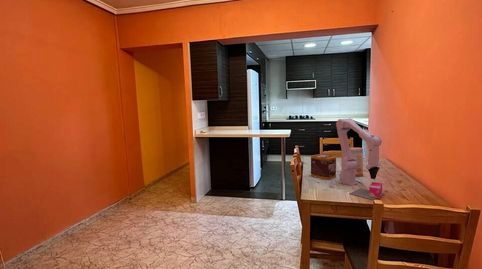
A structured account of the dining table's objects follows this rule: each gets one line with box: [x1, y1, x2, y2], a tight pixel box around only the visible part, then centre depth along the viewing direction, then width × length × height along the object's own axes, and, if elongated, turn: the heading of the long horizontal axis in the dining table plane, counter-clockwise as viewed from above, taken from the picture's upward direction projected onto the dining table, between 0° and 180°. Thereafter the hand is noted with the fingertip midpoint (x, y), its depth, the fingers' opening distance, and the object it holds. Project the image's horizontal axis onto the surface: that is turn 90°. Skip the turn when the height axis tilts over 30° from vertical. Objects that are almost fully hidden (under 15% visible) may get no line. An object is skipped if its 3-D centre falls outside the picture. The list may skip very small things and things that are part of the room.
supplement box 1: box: [310, 153, 337, 181], centre depth 189 cm, size 10×15×16 cm
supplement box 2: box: [368, 181, 383, 199], centre depth 147 cm, size 6×6×12 cm
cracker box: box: [340, 147, 364, 177], centre depth 189 cm, size 14×6×21 cm, turn 84°
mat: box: [349, 188, 386, 201], centre depth 149 cm, size 14×14×1 cm
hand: (373, 178), depth 153 cm, fingers closed
